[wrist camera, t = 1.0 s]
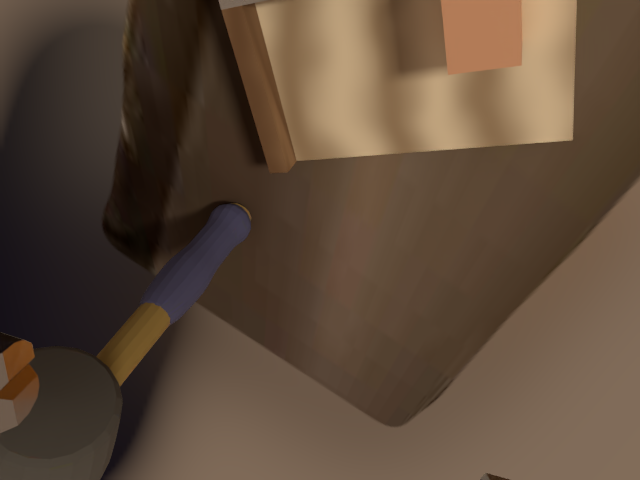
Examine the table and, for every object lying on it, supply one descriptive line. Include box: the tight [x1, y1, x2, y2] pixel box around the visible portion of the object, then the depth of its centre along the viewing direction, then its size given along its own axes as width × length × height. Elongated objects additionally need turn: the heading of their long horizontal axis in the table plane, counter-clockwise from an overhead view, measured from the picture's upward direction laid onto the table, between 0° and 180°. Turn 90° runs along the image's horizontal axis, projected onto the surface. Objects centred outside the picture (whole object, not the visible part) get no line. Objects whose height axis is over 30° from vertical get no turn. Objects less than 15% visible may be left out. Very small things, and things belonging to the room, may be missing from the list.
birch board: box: [222, 0, 577, 173], centre depth 36 cm, size 22×14×4 cm, turn 105°
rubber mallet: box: [0, 203, 251, 480], centre depth 39 cm, size 12×8×30 cm, turn 155°
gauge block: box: [441, 0, 523, 75], centre depth 30 cm, size 4×5×5 cm
